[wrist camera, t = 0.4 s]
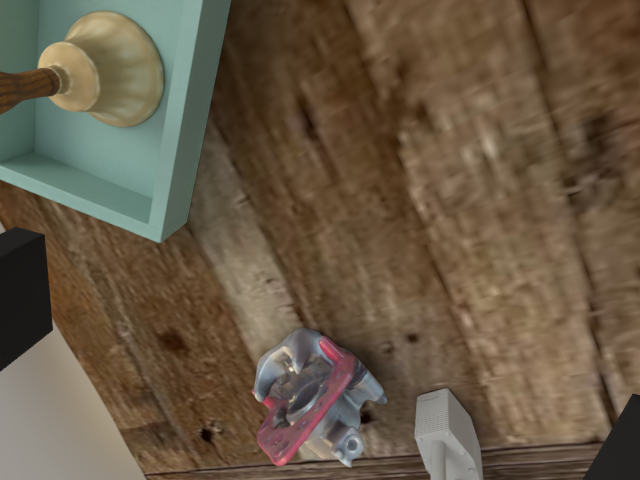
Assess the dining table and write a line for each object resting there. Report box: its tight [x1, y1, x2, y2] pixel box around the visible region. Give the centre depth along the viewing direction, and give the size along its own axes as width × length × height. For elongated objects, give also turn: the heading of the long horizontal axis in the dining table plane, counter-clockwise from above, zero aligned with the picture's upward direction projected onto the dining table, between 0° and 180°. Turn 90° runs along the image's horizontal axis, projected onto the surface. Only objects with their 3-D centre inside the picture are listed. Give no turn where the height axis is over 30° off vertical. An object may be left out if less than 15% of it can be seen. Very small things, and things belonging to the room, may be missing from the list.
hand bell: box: [0, 10, 165, 127], centre depth 30 cm, size 8×8×16 cm
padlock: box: [414, 388, 483, 480], centre depth 39 cm, size 7×4×10 cm, turn 30°
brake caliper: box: [252, 328, 387, 467], centre depth 41 cm, size 11×11×12 cm
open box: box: [0, 0, 231, 243], centre depth 35 cm, size 20×15×4 cm
